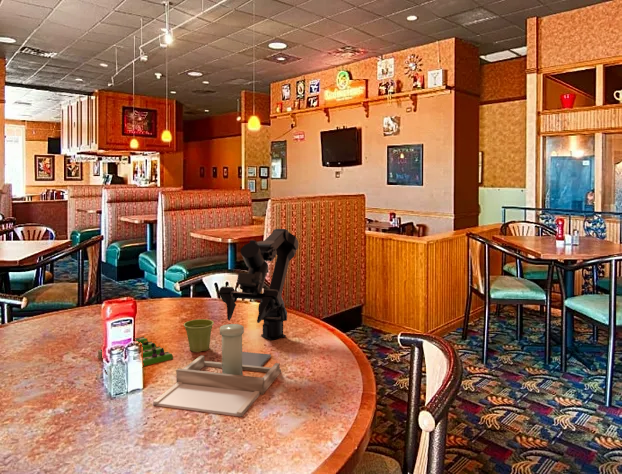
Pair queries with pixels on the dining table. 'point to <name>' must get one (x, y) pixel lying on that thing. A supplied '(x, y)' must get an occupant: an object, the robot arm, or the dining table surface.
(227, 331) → the pale lidded canister
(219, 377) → the frame
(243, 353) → the slate pad
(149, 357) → the toy garden set
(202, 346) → the plant pot
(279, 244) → the robot arm
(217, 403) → the frame lid
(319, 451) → the dining table surface
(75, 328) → the dining table surface
